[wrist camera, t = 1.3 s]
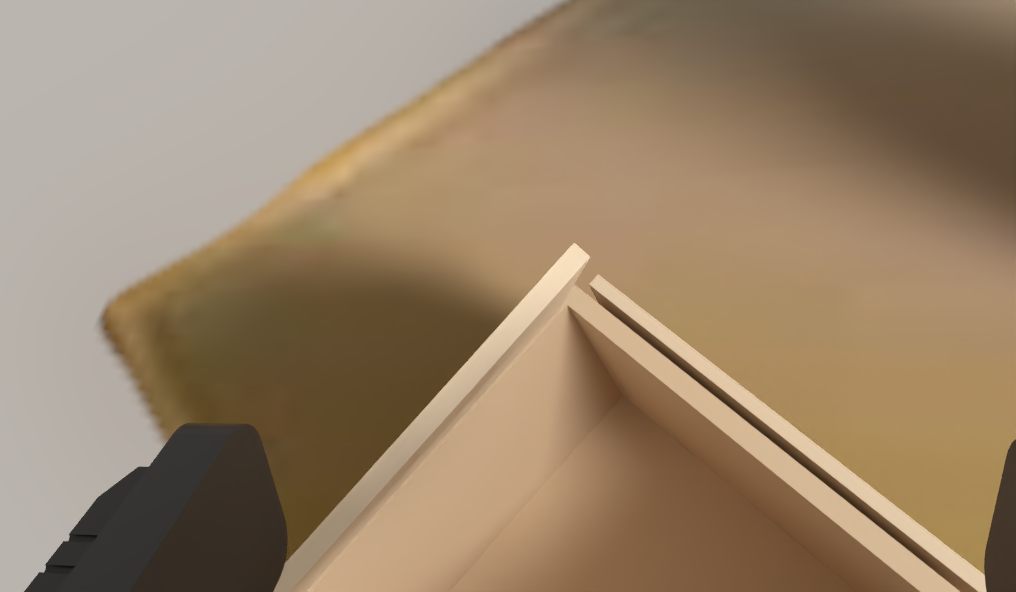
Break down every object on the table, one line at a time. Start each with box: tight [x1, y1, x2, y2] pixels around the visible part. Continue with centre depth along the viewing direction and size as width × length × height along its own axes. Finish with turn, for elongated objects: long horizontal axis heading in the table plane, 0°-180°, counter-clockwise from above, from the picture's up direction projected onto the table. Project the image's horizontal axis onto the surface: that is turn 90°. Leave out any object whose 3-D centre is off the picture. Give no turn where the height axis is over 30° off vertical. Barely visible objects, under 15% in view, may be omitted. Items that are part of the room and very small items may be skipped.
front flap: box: [273, 243, 590, 592], centre depth 20 cm, size 14×9×1 cm
